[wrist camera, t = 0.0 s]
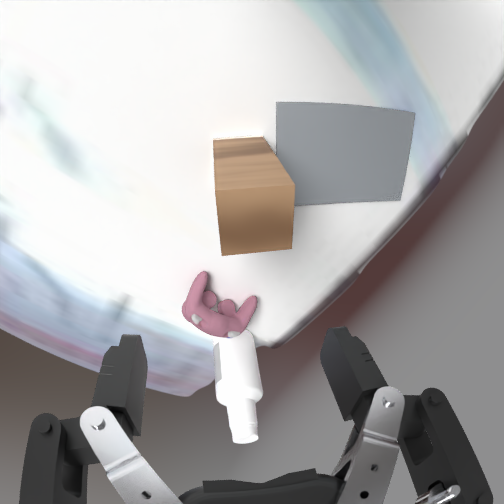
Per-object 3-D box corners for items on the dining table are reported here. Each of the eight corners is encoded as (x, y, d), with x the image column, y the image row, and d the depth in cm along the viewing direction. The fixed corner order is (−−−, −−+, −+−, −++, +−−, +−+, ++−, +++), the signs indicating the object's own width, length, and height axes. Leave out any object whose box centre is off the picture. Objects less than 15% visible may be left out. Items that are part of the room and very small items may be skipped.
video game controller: (187, 276, 40) (173, 323, 37) (202, 267, 37) (188, 318, 33) (242, 303, 45) (233, 346, 41) (261, 296, 42) (253, 343, 38)
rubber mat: (275, 205, 34) (276, 206, 33) (276, 102, 26) (276, 102, 26) (399, 199, 35) (400, 200, 35) (413, 112, 28) (415, 113, 28)
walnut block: (213, 138, 28) (215, 190, 18) (262, 135, 28) (295, 184, 18) (216, 182, 31) (221, 255, 21) (262, 179, 31) (291, 248, 21)
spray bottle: (203, 339, 47) (209, 442, 32) (233, 320, 45) (247, 429, 30) (232, 354, 50) (243, 448, 36) (261, 337, 48) (280, 436, 34)
